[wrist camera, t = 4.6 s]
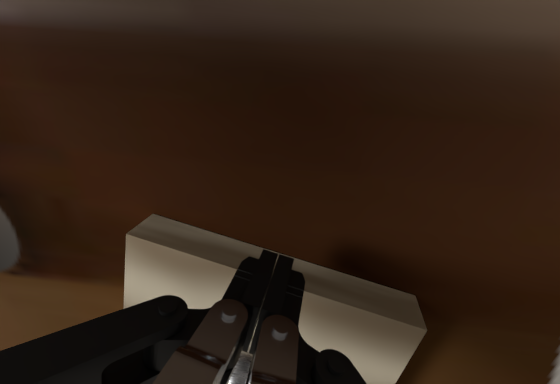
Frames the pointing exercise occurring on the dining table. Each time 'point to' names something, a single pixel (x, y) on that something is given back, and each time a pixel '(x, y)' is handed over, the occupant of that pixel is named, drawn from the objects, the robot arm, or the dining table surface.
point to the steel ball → (241, 368)
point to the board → (318, 280)
